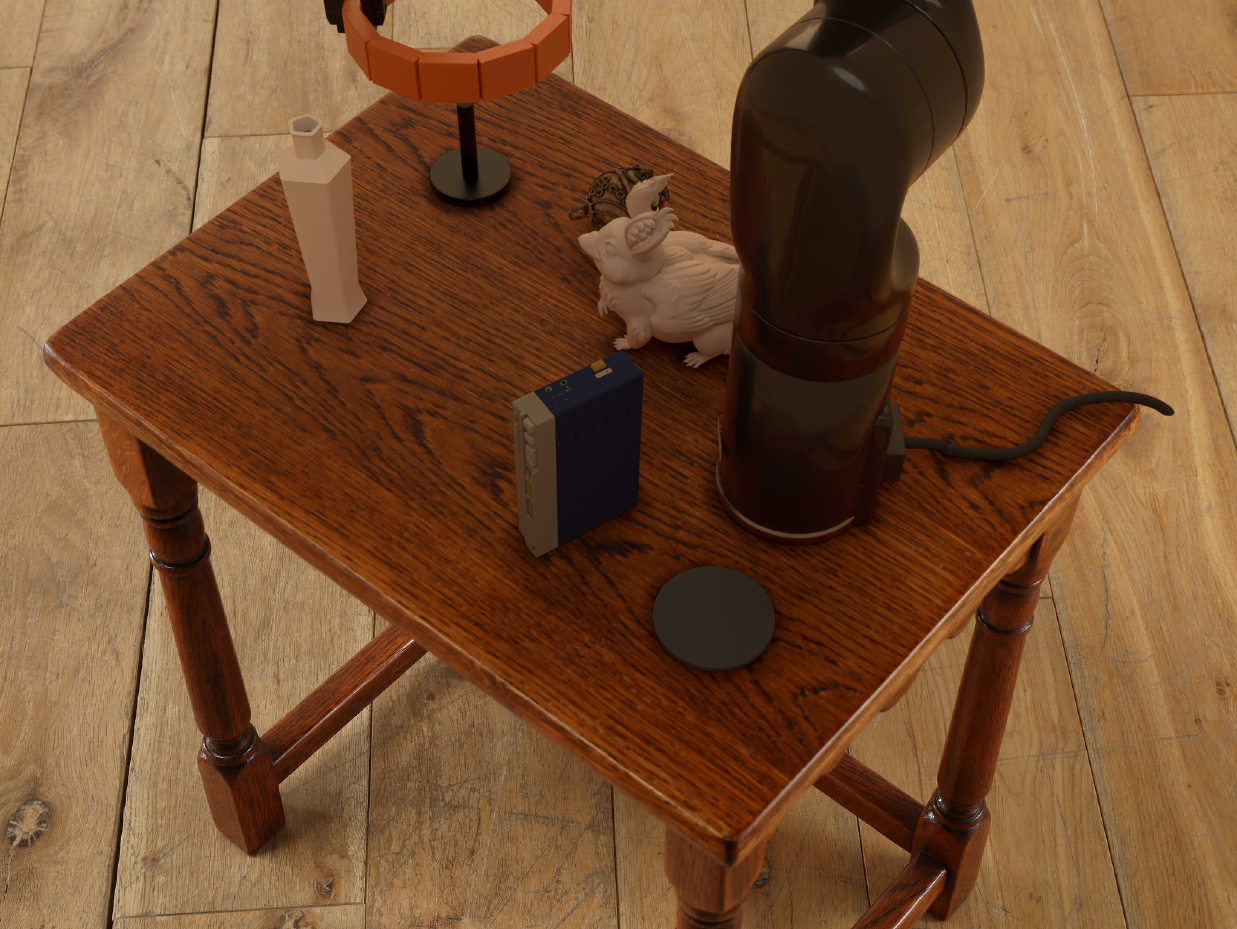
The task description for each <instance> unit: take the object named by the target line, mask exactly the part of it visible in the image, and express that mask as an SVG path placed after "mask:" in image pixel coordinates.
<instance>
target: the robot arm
mask: <svg viewBox="0 0 1237 929" xmlns="http://www.w3.org/2000/svg"><path fill="white" fill-rule="evenodd" d="M343 4H344V0H323V6H324V7H323V8H324V12H325V18H326V21H327V22H328V24H329V25H330V26H336V31H337V34H345V29H344V22H343V16H342V7H343ZM360 4H361V5H362V12H363V14H364V15H365V16H366V18H367V19H368V20H369V22H370V23H371V24H372V25H373V27H374V28H375V29H376V31H377V32H378V27H382V26H384V23H385V21H386V17H387V16H386V15H387V12H388V7H387V1H386V0H360ZM984 52H985V51H984V44H983V40H982V34H981V30H980V25H979V21H978V17H977V12H976V8H975V5H974V1H973V0H813V6H812V8H811V9H810V10H808V11H807V12H806V13H805V14H803V15H802V16H801V17H800V18H799V19H797V20H796V21H795V22H794V23H792V24H791V25H790V26H789V27H788V28H787V29H786V30H784V31H783V32H782V33H781V34H779V35H778V36H777V37H776V38H775V39H774V40H772V41H771V42H770V43H769V44H767V45H766V46H765V47H764V48H763V49H761V51H759V52H758V54H757V55H756V56H754V57H753V59H752V60H751V62H750V63H749V65H748V66H747V68H746V69H745V71H744V73H743V75H742V78H741V81H740V84H739V86H738V90H737V93H736V98H735V102H734V107H733V112H732V115H733V116H732V122H731V136H730V154H729V156H730V157H729V158H730V159H729V186H728V187H729V188H728V228H729V233H730V237H731V241H732V246H733V247H734V248H735V251H736V253H737V255H738V258H739V261H740V264H739V272H738V281H737V291H736V300H735V309H734V319H733V328H732V337H731V347H730V354H729V355H728V357H729V358H728V366H727V376H726V377H727V378H726V383H725V384H726V386H725V394H724V403H723V414H722V423H721V429H720V416H719V415H718V418H717V426H716V428H717V437H718V438H717V439H718V454H717V459H716V464H715V472H714V473H715V474H714V484H715V486H714V487H715V490H716V494H717V498H718V500H719V502H720V504H721V506H722V507H723V509H724V511H725V512H726V513H727V514H728V515H729V517H730V518H731V519H732V520H733V521H734V522H735V523H737V524H738V525H739V526H740V527H742V528H743V529H745V530H746V531H748V532H749V533H751V534H753V535H755V536H757V537H759V538H762V539H765V540H767V541H772V542H774V543H779V544H785V545H810V544H811V545H812V544H816V543H821V542H825V541H828V540H831V539H834V538H835V537H837V536H839V535H841V534H843V533H844V532H846V531H847V530H848V529H849V528H851V527H853V526H869V525H870V524H871V520H872V516H873V512H874V508H875V503H876V499H877V495H878V491H879V487H880V483H881V482H886V483H900V480H901V476H902V473H903V469H904V464H905V460H906V458H907V452H906V450H931V451H936V453H937V454H940V455H942V456H947V457H955V458H961V459H968V460H976V461H987V462H989V461H992V462H997V461H998V462H999V461H1008V460H1015V459H1019V458H1022V457H1026V456H1027V455H1030V454H1032V453H1033V452H1035V451H1036V450H1038V449H1039V448H1040V447H1041V446H1042V445H1043V444H1044V442H1045V441H1046V440H1047V438H1048V436H1049V435H1050V433H1051V431H1052V429H1053V427H1054V426H1055V424H1056V422H1057V420H1058V419H1059V418H1060V417H1061V416H1062V415H1063V414H1065V413H1066V412H1068V411H1071V410H1073V409H1076V408H1080V407H1086V406H1089V405H1095V404H1101V403H1102V404H1106V403H1126V404H1127V403H1128V404H1134V405H1140V406H1142V407H1143V406H1144V407H1146V408H1150V409H1153V410H1155V411H1156V412H1158V413H1160V414H1161V415H1162V416H1166V417H1172V416H1174V415H1175V410H1174V408H1173V407H1172V406H1171V405H1170V404H1168V403H1167V402H1165V401H1163V400H1161V399H1159V398H1158V397H1155V396H1152V395H1149V394H1145V393H1142V392H1135V391H1127V390H1104V391H1103V390H1102V391H1094V392H1088V393H1083V394H1078V395H1074V396H1071V397H1068V398H1065V399H1063V400H1061V401H1059V402H1057V403H1056V404H1054V405H1053V407H1051V408H1050V410H1049V411H1048V412H1047V413H1046V415H1045V416H1044V418H1043V420H1042V421H1041V423H1040V425H1039V427H1038V429H1037V431H1036V432H1035V434H1034V435H1033V436H1032V437H1031V438H1030V439H1029V440H1027V441H1026V442H1023V443H1022V444H1018V445H1015V446H1012V447H1011V446H1010V447H1005V448H980V447H971V446H964V445H958V444H953V443H947V442H946V441H945V440H943V439H941V438H937V437H936V438H935V437H927V436H904V430H903V429H904V428H903V421H902V414H901V408H900V403H899V402H893V396H892V387H893V383H894V379H895V376H896V371H897V366H898V363H899V358H900V353H901V350H902V345H903V341H904V336H905V332H906V328H907V323H908V319H909V314H910V310H911V306H912V302H913V299H914V296H915V291H916V287H917V282H918V278H919V272H920V265H921V254H920V247H919V244H918V243H919V242H918V241H917V238H916V236H915V233H914V231H913V230H912V228H911V227H910V225H909V224H908V223H907V222H906V220H905V218H903V217H902V211H903V208H904V204H905V200H906V197H907V195H908V192H909V189H910V188H911V187H912V186H913V185H914V184H915V183H916V182H917V181H918V180H919V179H920V178H921V177H922V176H924V174H925V173H926V172H927V171H928V170H929V169H930V168H931V167H932V166H933V165H934V164H935V163H936V162H937V161H938V159H940V157H942V156H943V155H944V154H945V153H946V151H948V149H949V148H950V147H951V146H953V145H954V144H955V143H956V141H958V139H959V138H960V137H961V136H962V135H963V133H964V132H965V131H966V130H967V128H968V126H969V125H970V123H971V122H972V120H973V118H974V117H975V115H976V113H977V111H978V108H979V107H980V103H981V101H982V97H983V96H982V95H983V92H984V87H985V81H986V62H985V61H986V59H985V53H984Z"/></svg>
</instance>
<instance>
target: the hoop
mask: <svg viewBox="0 0 1237 929" xmlns="http://www.w3.org/2000/svg"><path fill="white" fill-rule="evenodd" d="M386 1H387V8H388V7H389V6H391V4H393V3H394V2H395V1H396V0H386ZM534 1H535V2H536V3H537V5H539V6H540V8H541V9H542V10H543V11H544V12H545V13H546V14H547V15H548V16H546V17H545V18H544V19H543V20H542V21H541V22H539V23H538V25H536V26H535V27H534V28H533V29H532V30H531V31H530V32H528V34H526V35H525V36H524V37H523V38H519V39H516V40H513V41H510V42H506V43H503V44H499V45H497V46H494V47H490V48H486V49H484V50H480V51H477V52H452V51H451V52H450V51H449V52H448V51H447V52H445V51H444V52H442V51H422V50H419V49H417V48H414V47H411V46H409V45H406V44H403V43H401V42H399V41H396V40H394V39H393V40H392V39H390V38H387V37H386V36H382V35H381V34H380V33H379V32H378V30H377V31H376V29H375V28H374V27H373V25H372V24H371V23H370V22H369V20H368V19H367V18H366V16H365V15H364V14H363V12H362V5H361V4H360V0H344V4H343V7H342V16H343V22H344V29H345V33H344V34H345V41H346V48H347V52H348V53H349V55H350V57H351V58H352V59H353V61H354V62H355V63H356V64H357V66H358V68H359V69H360V70H361V71H362V73H363V75H365V77H366V79H367V80H368V81H369V82H371V83H372V84H374V85H376V86H379V87H382V88H384V89H386V90H388V91H391V92H394V93H396V94H399V95H402V96H404V97H407V98H409V99H412V100H414V101H417V102H420V100H421V101H422V102H423V103H454V104H455V103H456V104H457V103H474V104H480V103H481V100H482V102H483V103H487V102H491V101H494V100H496V99H500V98H503V97H506V96H510V95H512V94H516V93H519V92H522V91H525V90H528V89H531V88H534V87H536V84H537V85H539V84H541V83H542V82H543V81H544V80H545V79H546V78H547V77H549V75H550V74H551V73H552V72H553V71H555V69H557V68H558V67H559V66H560V65H561V64H562V63H563V62H564V61H565V60H566V59H567V58H569V55H570V54H571V51H572V36H573V23H574V22H573V0H534Z"/></svg>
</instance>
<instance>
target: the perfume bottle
mask: <svg viewBox="0 0 1237 929" xmlns="http://www.w3.org/2000/svg"><path fill="white" fill-rule="evenodd" d="M287 124H288V132H289V134H290V135H291V138H292V142H293V144H292V145H289V146H287V147H283V148H280V149H278V150H277V151H276V152H277V153H276V155H277V163H278V172H279V179H280V182H281V186H282V189H283V193H284V196H285V200H286V203H287V207H288V210H289V214H290V217H291V221H292V224H293V228H294V231H295V236H296V238H297V243H298V245H299V249H300V252H301V256H302V259H303V263H304V266H305V267H304V268H305V270H306V273H307V276H308V280H309V283H310V288H311V293H310V302H311V303H310V304H311V312H312V318H313V320H314V321H318V322H327V323H328V322H330V323H341V324H349V323H351V322H353V321H354V319H355V317H357V315H358V314H359V312H360V311H361V310H362V308H363V307H364V306H365V305H366V303H367V302H368V299H367V296H366V295H365V293H364V292H363V291H364V290H363V289H362V288H361V286H360V283H359V274H358V273H359V270H358V269H359V268H358V253H357V237H356V236H357V235H356V222H355V206H354V192H353V191H354V190H353V174H352V158H351V157H352V156H351V155H350V154H349V153H347V152H346V151H345V150H344V149H341V148H340V147H338V146H337V145H335V144H334V143H332V142H330V141H329V140H327V139H326V138H325V137H324V132H323V131H324V130H323V126H324V125H325V122H324V121H323V120H321V119H320V118H319V117H317V116H315V115H314V114H312V113H304V114H301V115H298V116H295V117H292V118H290V119H288V121H287Z"/></svg>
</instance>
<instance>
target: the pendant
mask: <svg viewBox="0 0 1237 929" xmlns="http://www.w3.org/2000/svg"><path fill="white" fill-rule="evenodd" d="M654 173H655V171H654V168H653V167H652V166H649V167H648V168H645V167H644V168H643V167H642V168H641V166H640V163H639V162H635V163H634V165H633V166H623V167H619V168H617V167H611V168H610V169H607V170H606V171H604V172H602V173H601V174H599V175H598V176H597V177H596V178H594V180H593V181H592V183H591V185H589V188H588V190H587V192H586V196H585V200H584V203H579V204H574V205H572V206H570V208H569V210H568V211H567V217H568V219H569V220H570V221H574V222H575V221H582V220H584V219H587V220H588V221H589V223H591V226H592V227H593V228H595V229H597V231H599V230H600V229H601V228H603V227H604V226H606V225H607V224H608V223H609V222H611V221H612V220H614V219H616V218H620V217H627V218H630V219H631V217H630V215H629V213H628V210H627V207H626V198H627V196H628V194H629V193H630V192H631V190H632V188H633V187H634V186H635V185H637V183H638V182H641V183H642V182H643V181H644V180H649V179H650V178H652V177H655V176H656V175H655V174H654ZM671 196H672V192H671V187H670V186H669V185H668V184H666V186H665V188H664V189H663V190H662V191H660V192H659V193H658V194H657V195H656V196H655V197H654V199H653V201H652V204H651V211H654V212H655V211H656V210H657V207H658V208H659V212H660V210H661V209H663V208H664V204H665V202H666V201H669V200H670V198H671ZM580 210H581V211H582V213H581V214H579V215H574V212H577V211H580Z"/></svg>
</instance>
